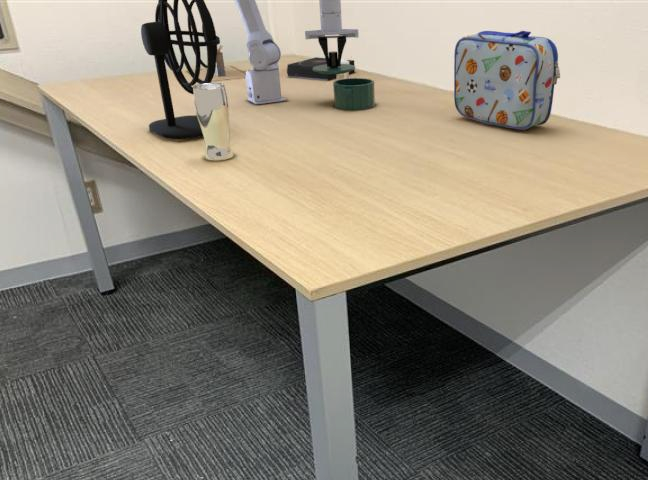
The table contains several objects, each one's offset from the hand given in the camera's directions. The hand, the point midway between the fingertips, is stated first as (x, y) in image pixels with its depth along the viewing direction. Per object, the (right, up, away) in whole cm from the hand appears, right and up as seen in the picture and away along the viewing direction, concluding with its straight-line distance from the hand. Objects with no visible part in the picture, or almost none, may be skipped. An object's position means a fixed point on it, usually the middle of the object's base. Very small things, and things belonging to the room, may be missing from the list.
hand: (333, 66), depth 188 cm
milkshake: (+2, 0, +20) cm, 20 cm away
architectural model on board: (-45, +17, +50) cm, 70 cm away
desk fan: (-35, -24, -19) cm, 46 cm away
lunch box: (+44, -23, -19) cm, 53 cm away
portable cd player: (-8, +15, +45) cm, 48 cm away
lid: (0, -1, 0) cm, 1 cm away
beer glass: (-22, -37, -40) cm, 58 cm away
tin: (+6, -11, +2) cm, 12 cm away
